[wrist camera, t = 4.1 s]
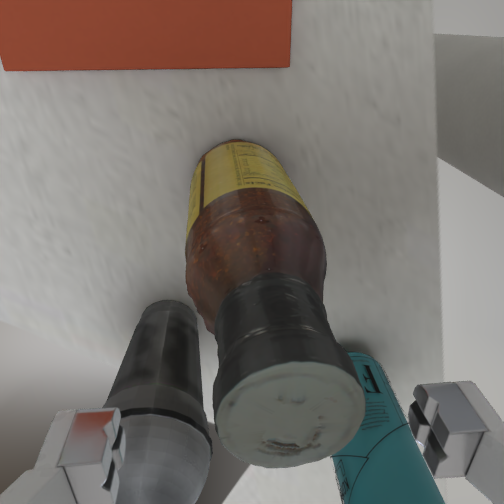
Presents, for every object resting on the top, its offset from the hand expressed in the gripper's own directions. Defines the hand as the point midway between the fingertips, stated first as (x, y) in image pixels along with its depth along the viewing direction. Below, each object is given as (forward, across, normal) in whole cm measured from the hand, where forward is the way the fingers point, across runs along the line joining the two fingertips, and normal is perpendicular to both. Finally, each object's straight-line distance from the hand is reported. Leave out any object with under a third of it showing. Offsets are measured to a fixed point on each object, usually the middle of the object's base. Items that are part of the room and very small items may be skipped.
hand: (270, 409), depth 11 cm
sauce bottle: (+19, 0, 0) cm, 19 cm away
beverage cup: (+19, +6, +12) cm, 23 cm away
